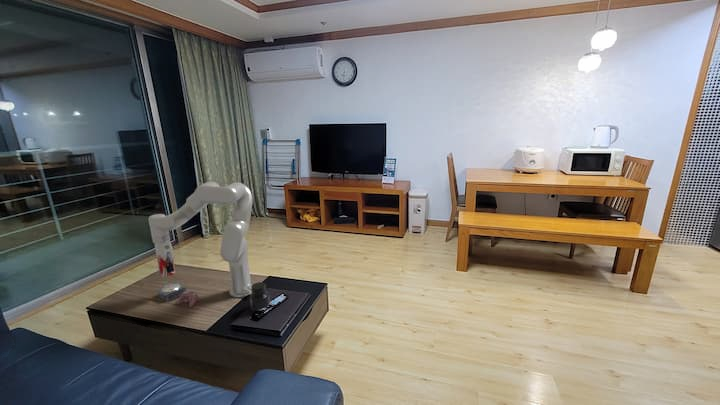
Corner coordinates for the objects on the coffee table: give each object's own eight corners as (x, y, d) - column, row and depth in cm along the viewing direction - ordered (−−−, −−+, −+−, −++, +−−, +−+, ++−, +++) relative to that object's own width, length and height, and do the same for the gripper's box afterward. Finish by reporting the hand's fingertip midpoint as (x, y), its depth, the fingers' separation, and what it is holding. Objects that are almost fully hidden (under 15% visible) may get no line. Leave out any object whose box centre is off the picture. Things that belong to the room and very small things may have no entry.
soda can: (168, 279, 155) (164, 257, 152) (157, 277, 157) (152, 256, 154) (179, 272, 162) (175, 252, 159) (168, 271, 164) (164, 251, 161)
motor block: (187, 293, 163) (186, 286, 162) (167, 302, 155) (166, 295, 154) (174, 286, 171) (173, 279, 170) (154, 294, 164) (153, 287, 162)
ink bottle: (263, 299, 156) (260, 279, 153) (274, 305, 151) (272, 283, 148) (247, 309, 148) (244, 287, 145) (258, 315, 144) (255, 292, 140)
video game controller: (197, 306, 154) (200, 292, 155) (190, 307, 150) (193, 293, 151) (182, 303, 157) (186, 289, 159) (175, 304, 153) (178, 290, 154)
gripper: (177, 239, 152) (182, 271, 157) (161, 232, 162) (167, 263, 167) (160, 244, 146) (167, 277, 151) (145, 237, 156) (152, 268, 161)
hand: (167, 269), depth 159 cm, fingers closed on soda can, 7 cm apart
